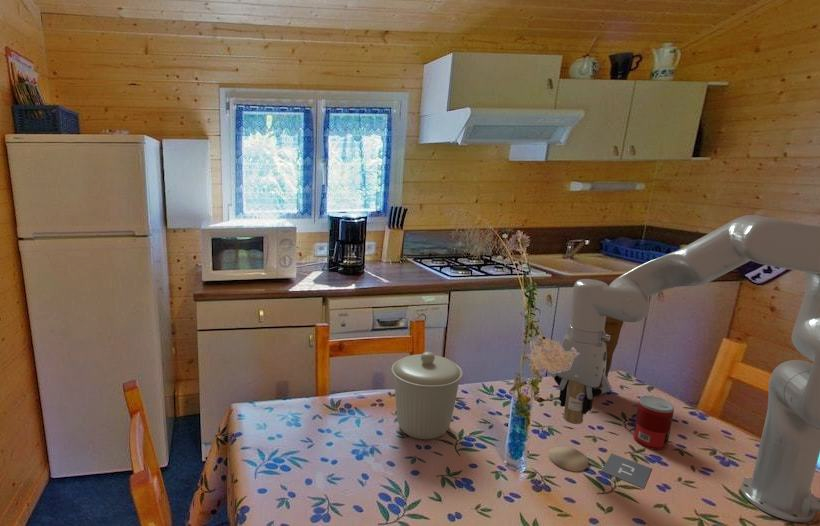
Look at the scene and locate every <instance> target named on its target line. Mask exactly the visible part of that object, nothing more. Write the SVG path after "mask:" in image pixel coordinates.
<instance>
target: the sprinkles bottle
mask: <svg viewBox="0 0 820 526" xmlns="http://www.w3.org/2000/svg"><path fill="white" fill-rule="evenodd" d="M574 376H575V377H577V378H579V377H578V375H574ZM577 378H576V379H577ZM586 394H587V391H586V385H583V384H581V383H578V381H575V380H574V381H571V380H569V381H568V385H567V392H566V400H565V406H564V412H563V416H562V419H563V420H564V421H566V423H569V424H573V425H580V424H582V423H583V422H584V414H583V413H582V410H583V403H584V398H585V397H586Z"/></svg>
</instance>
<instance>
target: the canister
mask: <svg viewBox="0 0 820 526" xmlns="http://www.w3.org/2000/svg"><path fill="white" fill-rule="evenodd" d="M390 371H391V373H392V375H393V379H394V380H393V381H394V396H395V397H394V398H395V408H396V419H397V423H398V426H399V428H400V430H401V431H403V433H404V434H406V435H407V436H409V437H411V438H415V439H419V440H432V439H436V438H439V437H441V436H443V435H445V433H446V432H447V431H448V430H449V428H450V425H451V422H452V419H453V414H454V409H455V404H456V400H457V393H458V390H459V385H460V381H461V380H462V378H463V376H464V373H463V369H462V367H460V366H459V365H458V364H457V363H455V362H453V361H452V360H451V359H448V358H446V357H444V356H440V355H435V353H433V352H431V351H424V352H422V353H417V354H411V355H408V356H405V357H402V358H400V359H398V360H396V361H394V363H393V364H392V366H391V370H390Z"/></svg>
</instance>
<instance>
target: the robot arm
mask: <svg viewBox="0 0 820 526" xmlns="http://www.w3.org/2000/svg"><path fill="white" fill-rule="evenodd" d="M749 262H753V263H756V264H760V265H765V266H769V267H774V268H778V269H779V268H780V269H785V270H792V271H797V272H798V271H799V272H803V273H804V276H805V291H804V294H803V298H802V302H801V305H800V308H799V310H798V314H797V318H796V319H795V323H794V326H793V329H792V333H791V343H792V345H793V346H794V348H795V350H797V352H799V353H800V354H801V355H802V356H804V357H806V358H807V359H808V360H809V361H811V362H809V361H807V360H801V359H790V360H787V361H784V362H781V363H779V364H778V365H777V366H776V367H775V368H774V369H773V370H772V372H771V374H770V377H769V381H768V401H767V412H766V415H765V421H764V426H763V429H762V432H761V433H762V434H761V438H760V441H759V447H758V451H757V456H756V460H755V463H754V464H755V465H754V469H753V473H752V477H750V478H745V479H743V481H742V482H741V484H740V485H741V486H740V489H741V492H742V494H743V496H744V498H746V499H747V501H749V503H751V504H752V505H753V506H755V507H757V508H758V509H760V510H762V511H763V512H765V513H767V514H769V515H771V516H774V517H776V518H778V519H782V520H786V521H787V522H794V523H808V522H811V521H813V519H814V518H815V515H816V512H820V497H818V496H816V495H814V493H812V491H811V490H812V489H811V488H812V485H813V480H814V477H815V474H816V469H817V466H818V462H819V457H820V223H818V222H805V223H798V222H793V221H789V220H788V221H787V220H781V219H776V218H772V217H767V216H763V215H758V214H746V215H742V216H740V217H737V218H735V219H733V220H731V221H729V222H727V223H726V224H723V225H721V226H719V227H718V228H717V229H714V230H713V231H711V232H709V233H707V234H706V235H704V236H701V237H700V238H698V239H696V240H694V241H693V242H690V243H689V244H687V245H685V246H683V247H681V248H679V249H677V250H676V251H672V252H670V253H666V254H664V255H662V256H660V257H657V258H655V259H651V260H649V261H647V262H645V263H642V264H640V265H638V266H636V267H635V268H633V269H631V270H629V271H628V272H626V273H624V274H622V275H620V276H618V277H617V278H615V279H613V281H611V283H610V284H608V283H606V282H604V281H601V280H597V279H593V278H592V279H591V278H583V279H578V280H576V281H575V283H574V284H573V290H572V295H571V296H572V299H571V306H570V312H569V319H568V320H569V322H568V325H567V326H568V327H567V333H565V335H564V336H563V339H562V341H561V344H560V346H561V345H562V347H563V348H564V350H565V351H570V350H571V348H572V347H574V348H575V349H576V350H577V352H579V353H580V354H579V355H578V356H577V357H576V358H575V359H574V361H573V364H572V367H571V369H570V370H568V371H565V372H561V373H556V374H551V373H548V374H549V375H550V376H551V377H552V378H553V379H554V381H555V383H556V384H557V386H558V389H559V398H558V400H559V401H560V405H559V406H560V407H561V408H562V407H565V400H566V392H567V385H568V381H569V380H571V381H574V380H575V381H578V383H581V384H583V385H586V391H587V395H586V397H585V398H584V403H583V410H582V413H583V415H587V413H588V412H589V411H591V410H592V408H593V403H594V398H595V397H598V396H601V395H600V394H602V393H606V392H607V393H608V392H609V393H610V392H611V390H612V385H611V384H610V381H609V380H608V378H606V376H605V371H606V354H607V353H606V343H605V342H603V341H609V340H610V335H607V334H605V330H604V327H605V321H606V317H610V318H613V319H617V320H620V321H623V322H627V323H637V322H640V321H642V320H644V319H645V318H646V317H647V316H648V314H649V313H650V309H651V303H650V300H649V298H651V297H652V296H654V295H656V294H658V293H661V292H663V291H667V290H670V289H674V288H678V287H679V288H680V287H698V286H704V285H706V284H708V283H710V282H712V281H715V280H716V279H718V278H720V277H721V276H724V275H725V274H727V273H730V272H731V271H733V270H735V269H737V268H739V267H741V266H743V265H745V264H747V263H749ZM574 375H578V377H579V378H577V377H575V376H574ZM576 378H577V379H576ZM600 382H601V384H602V387H599V385H600ZM595 387H598V388H596V389H595ZM607 393H606V394H607Z"/></svg>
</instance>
